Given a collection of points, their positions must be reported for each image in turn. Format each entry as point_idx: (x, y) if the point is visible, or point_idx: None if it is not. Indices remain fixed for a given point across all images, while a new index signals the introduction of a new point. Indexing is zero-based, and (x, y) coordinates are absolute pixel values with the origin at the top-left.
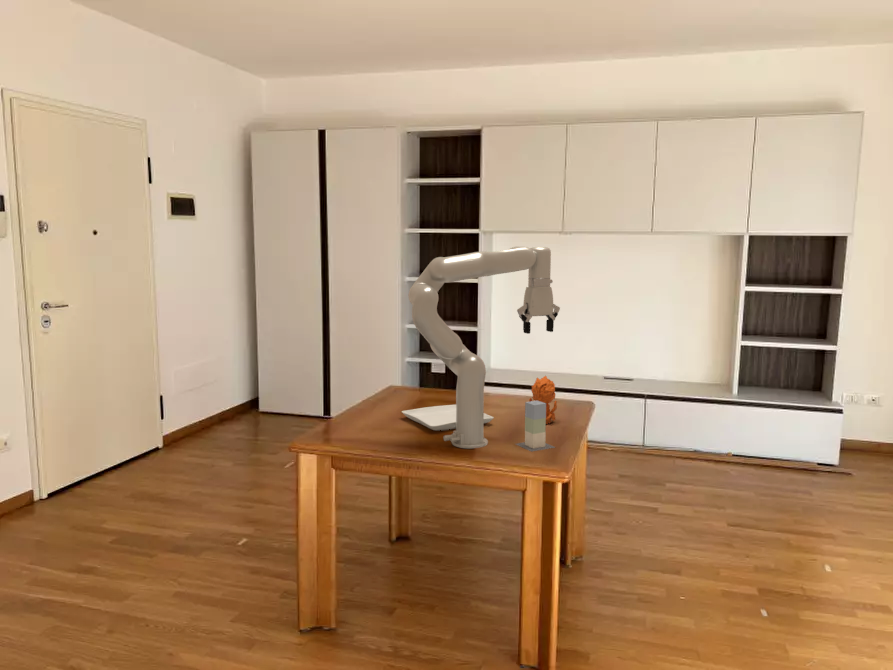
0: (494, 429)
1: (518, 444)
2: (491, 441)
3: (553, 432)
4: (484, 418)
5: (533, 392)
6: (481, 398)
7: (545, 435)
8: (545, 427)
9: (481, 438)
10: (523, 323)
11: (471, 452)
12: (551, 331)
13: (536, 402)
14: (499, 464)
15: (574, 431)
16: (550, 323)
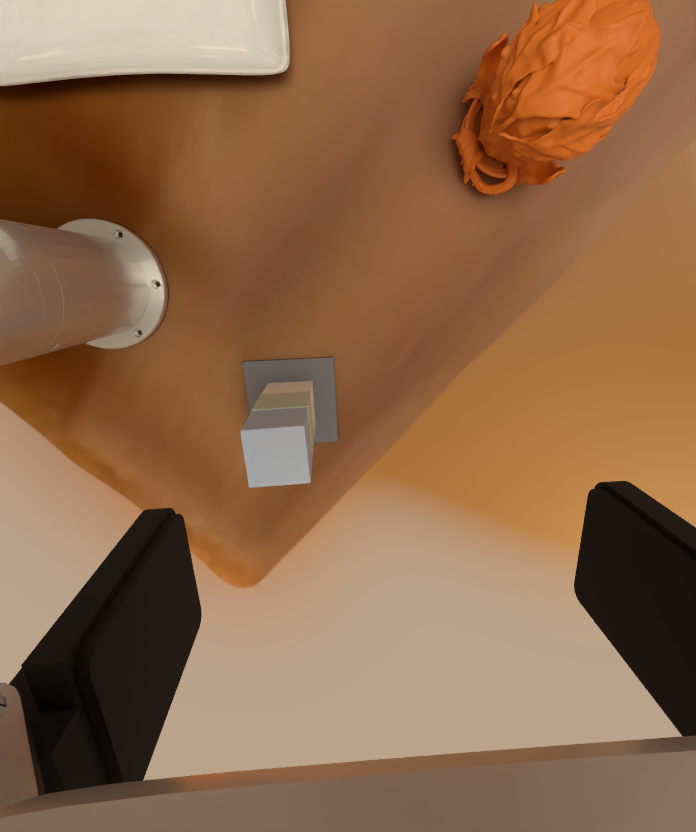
0: (264, 149)
1: (250, 372)
2: (188, 292)
3: (437, 290)
4: (266, 10)
5: (498, 78)
6: (29, 355)
7: (314, 434)
8: (313, 443)
9: (125, 329)
10: (21, 674)
11: (84, 371)
12: (583, 585)
13: (282, 454)
14: (126, 492)
15: (505, 311)
16: (664, 682)
